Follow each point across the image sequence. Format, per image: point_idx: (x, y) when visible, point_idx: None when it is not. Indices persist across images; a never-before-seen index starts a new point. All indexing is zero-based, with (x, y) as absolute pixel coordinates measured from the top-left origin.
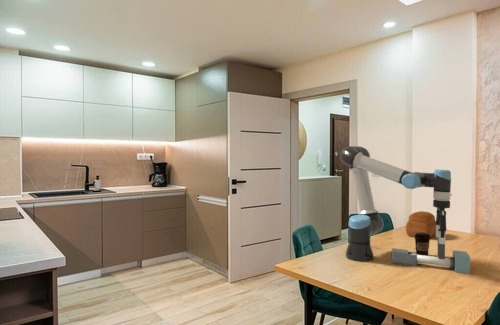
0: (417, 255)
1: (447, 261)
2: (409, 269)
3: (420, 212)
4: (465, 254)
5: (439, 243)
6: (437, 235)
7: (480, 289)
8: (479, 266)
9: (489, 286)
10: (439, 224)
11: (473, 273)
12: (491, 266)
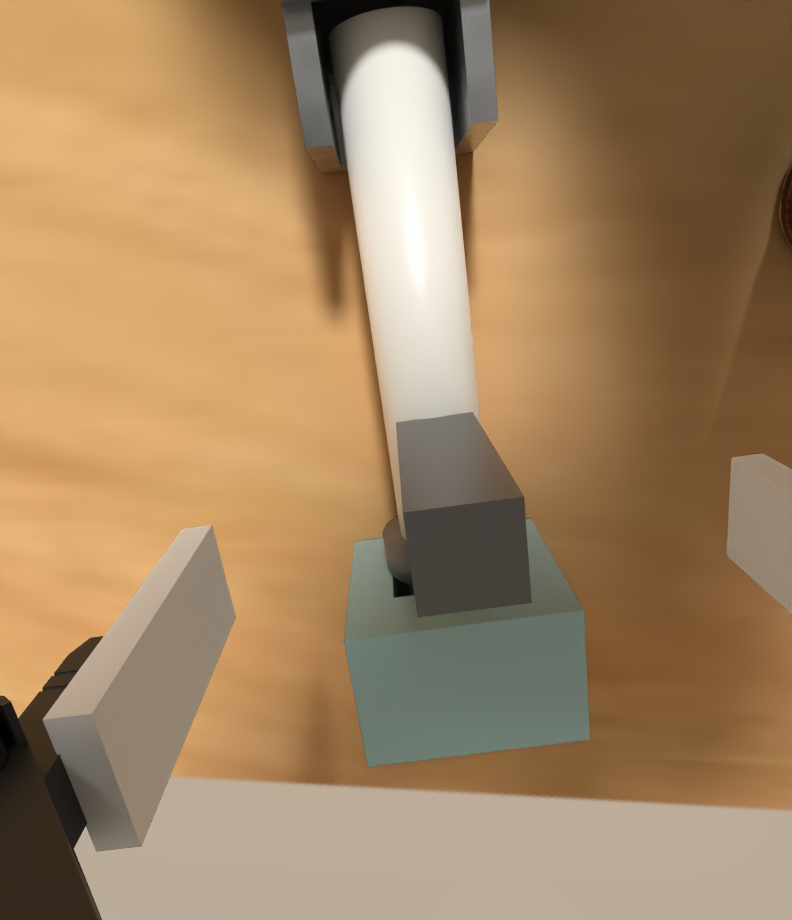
0: (382, 153)
1: (401, 509)
2: (157, 97)
3: None
4: (444, 730)
5: (183, 539)
6: (752, 500)
7: (14, 693)
8: (647, 710)
9: None
10: (66, 910)
11: None
12: (690, 783)
